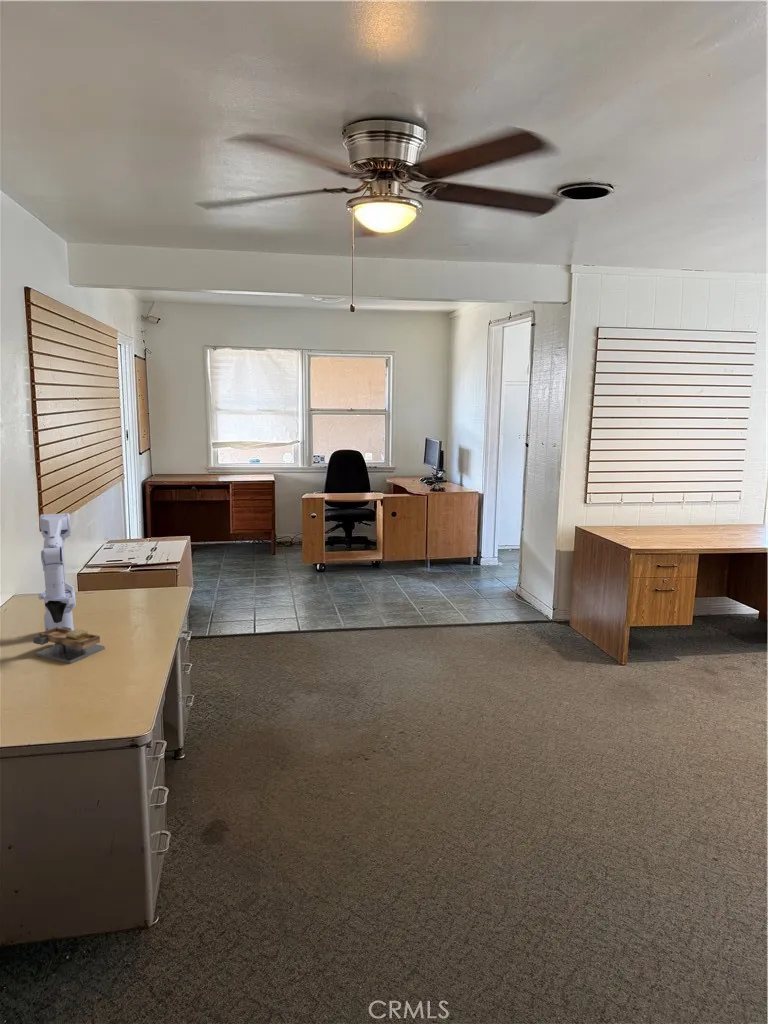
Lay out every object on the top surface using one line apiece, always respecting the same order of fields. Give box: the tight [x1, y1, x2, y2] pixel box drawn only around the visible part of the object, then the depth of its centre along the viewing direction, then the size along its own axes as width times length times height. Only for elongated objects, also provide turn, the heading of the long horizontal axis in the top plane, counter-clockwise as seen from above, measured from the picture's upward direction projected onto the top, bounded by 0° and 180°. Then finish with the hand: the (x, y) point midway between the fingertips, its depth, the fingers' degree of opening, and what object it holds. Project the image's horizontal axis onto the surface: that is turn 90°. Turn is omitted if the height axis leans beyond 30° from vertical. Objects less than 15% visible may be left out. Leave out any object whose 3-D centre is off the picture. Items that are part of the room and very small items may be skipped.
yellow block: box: [66, 628, 89, 641], centre depth 216 cm, size 5×4×2 cm
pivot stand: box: [35, 643, 106, 664], centre depth 218 cm, size 16×14×5 cm
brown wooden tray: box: [32, 627, 101, 649], centre depth 218 cm, size 20×12×3 cm, turn 66°
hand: (57, 622), depth 219 cm, fingers closed
